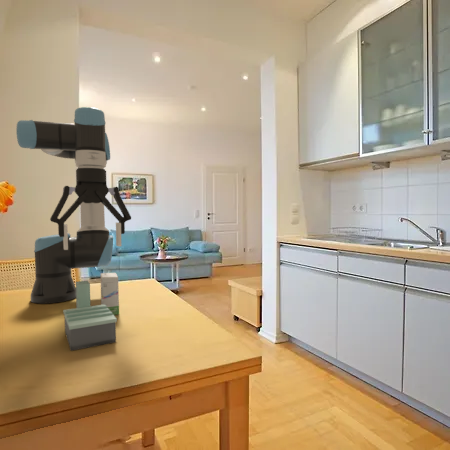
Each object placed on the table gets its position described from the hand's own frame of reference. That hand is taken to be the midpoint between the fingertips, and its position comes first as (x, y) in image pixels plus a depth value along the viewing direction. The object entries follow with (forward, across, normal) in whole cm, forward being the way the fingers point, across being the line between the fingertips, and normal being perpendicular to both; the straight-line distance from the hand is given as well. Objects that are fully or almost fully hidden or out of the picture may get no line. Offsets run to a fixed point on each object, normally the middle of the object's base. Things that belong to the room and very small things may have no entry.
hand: (93, 247), depth 94 cm
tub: (+22, -3, -7) cm, 23 cm away
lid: (+18, -3, -5) cm, 19 cm away
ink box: (+22, +7, +12) cm, 26 cm away
